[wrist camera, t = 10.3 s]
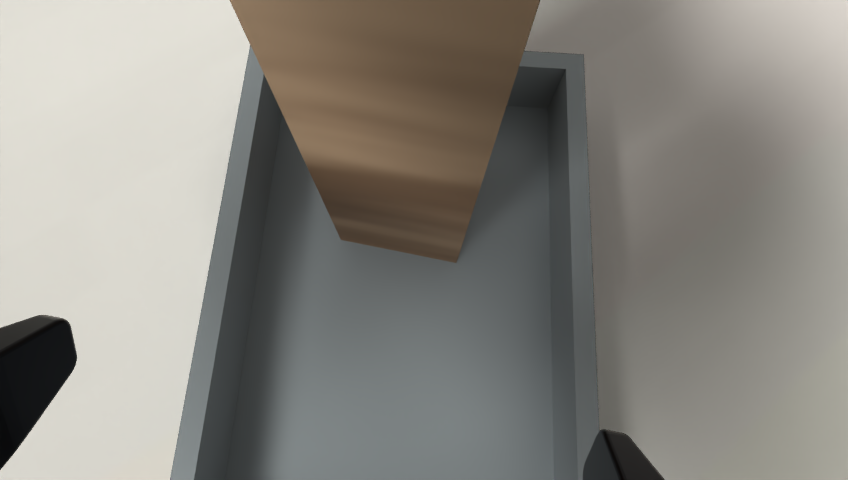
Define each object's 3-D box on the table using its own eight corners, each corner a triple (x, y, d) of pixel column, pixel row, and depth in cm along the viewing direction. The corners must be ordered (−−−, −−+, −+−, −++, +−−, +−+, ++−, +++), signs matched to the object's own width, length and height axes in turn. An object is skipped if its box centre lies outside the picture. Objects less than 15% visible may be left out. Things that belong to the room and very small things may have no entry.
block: (456, 263, 17) (566, -84, 5) (340, 240, 17) (157, -154, 5) (476, 157, 18) (606, -341, 6) (367, 137, 19) (275, -391, 6)
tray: (571, 617, 15) (609, 669, 12) (192, 595, 15) (139, 642, 12) (559, 103, 20) (583, 54, 17) (275, 87, 20) (252, 34, 17)
